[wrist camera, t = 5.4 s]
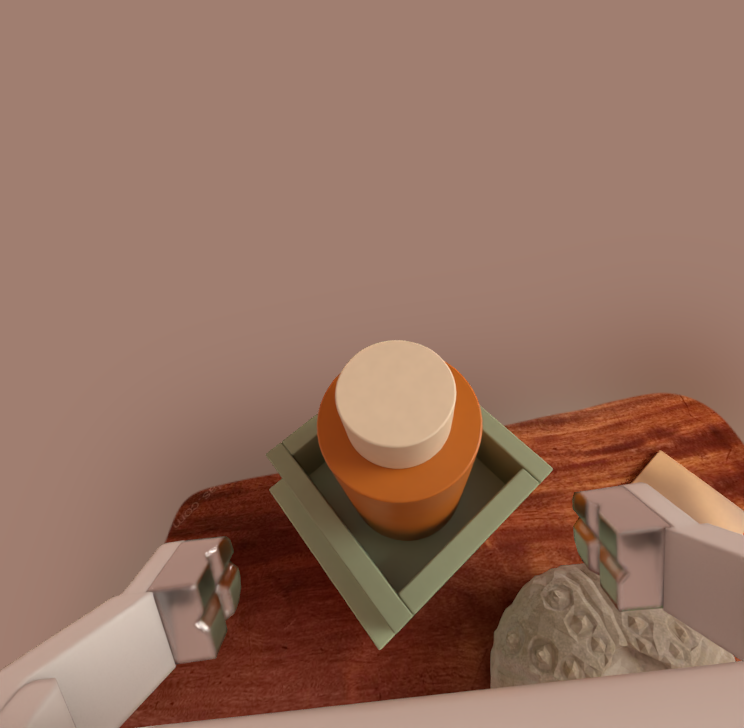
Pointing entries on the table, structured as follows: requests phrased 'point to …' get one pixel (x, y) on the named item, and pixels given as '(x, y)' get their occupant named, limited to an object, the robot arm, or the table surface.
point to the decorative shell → (587, 634)
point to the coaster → (690, 493)
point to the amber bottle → (400, 437)
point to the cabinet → (388, 556)
